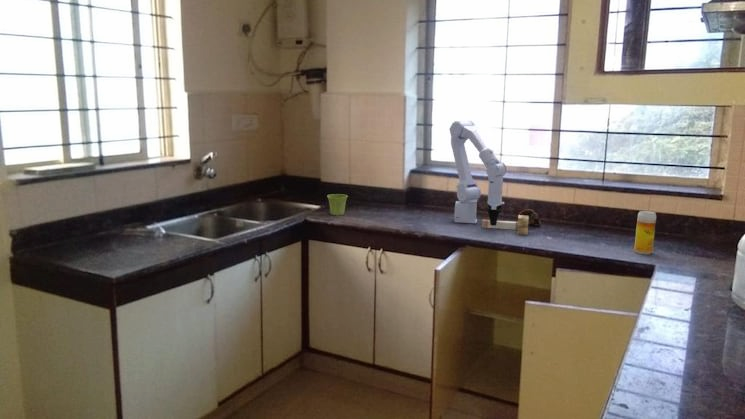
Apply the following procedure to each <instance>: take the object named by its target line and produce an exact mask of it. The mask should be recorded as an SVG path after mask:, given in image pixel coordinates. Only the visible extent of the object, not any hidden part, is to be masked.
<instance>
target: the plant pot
mask: <svg viewBox="0 0 745 419" xmlns="http://www.w3.org/2000/svg"><path fill="white" fill-rule="evenodd" d="M326 197H327V200H328V204H329V211H330V215H332V216H335V215H336V216H338V215H339V216H344V215H345V208H346V202H347V200H348V199H347V198H348V197H349V196H348V195H347V194H343V193H342V194H341V193H336V194H335V193H334V194H333V193H332V194H328V195H327V196H326ZM343 214H344V215H343Z"/></svg>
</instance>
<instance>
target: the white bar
mask: <svg viewBox="0 0 745 419" xmlns="http://www.w3.org/2000/svg"><path fill="white" fill-rule="evenodd" d="M481 227H482V228H484V229H485V228H487V229H498V228H499V230H501V229H502V230H514V231H515V230H516V231H517V229H518V222H517V221H510V220H497V223H496V226H494V225H490V219H482V224H481Z"/></svg>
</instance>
